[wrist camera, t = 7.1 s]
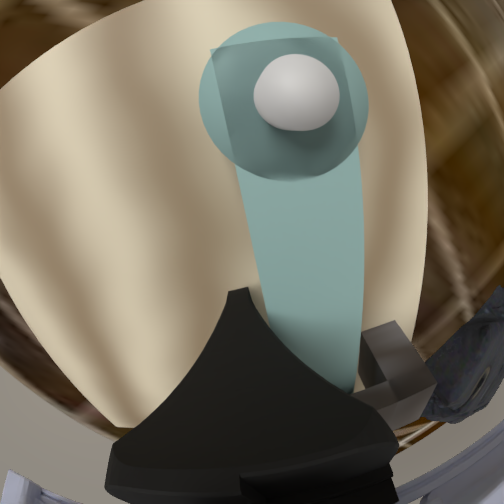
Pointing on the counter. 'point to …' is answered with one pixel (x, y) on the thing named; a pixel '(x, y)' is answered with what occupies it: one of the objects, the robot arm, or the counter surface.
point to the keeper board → (190, 201)
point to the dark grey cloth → (469, 365)
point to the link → (297, 181)
